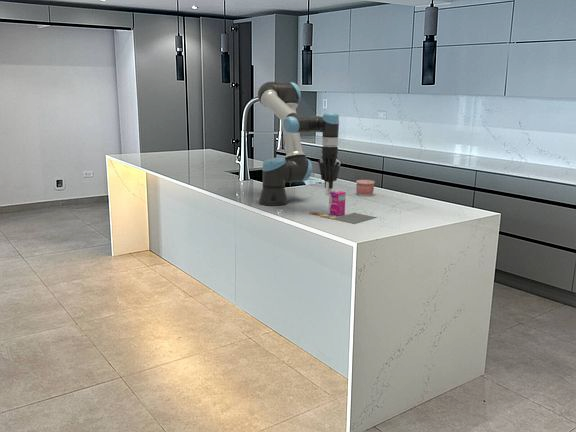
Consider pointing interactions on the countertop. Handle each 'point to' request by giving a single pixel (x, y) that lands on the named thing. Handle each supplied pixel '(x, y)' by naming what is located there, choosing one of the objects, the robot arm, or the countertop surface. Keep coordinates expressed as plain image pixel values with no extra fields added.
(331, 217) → the turner
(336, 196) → the supplement box
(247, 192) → the countertop surface
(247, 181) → the countertop surface
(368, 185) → the container
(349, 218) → the mat
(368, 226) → the countertop surface
